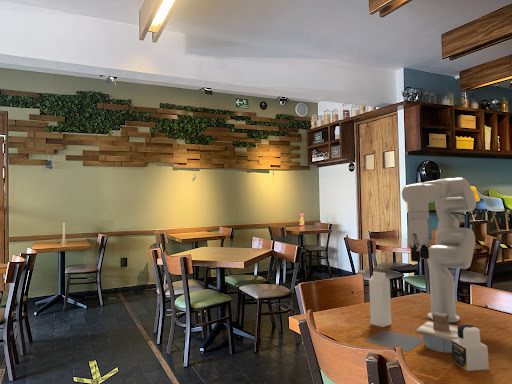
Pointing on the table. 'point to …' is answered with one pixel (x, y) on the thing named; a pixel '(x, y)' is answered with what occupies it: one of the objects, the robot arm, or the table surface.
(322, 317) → the table surface
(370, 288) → the milk
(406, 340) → the mat
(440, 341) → the bowl
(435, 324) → the lid
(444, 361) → the table surface
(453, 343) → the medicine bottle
